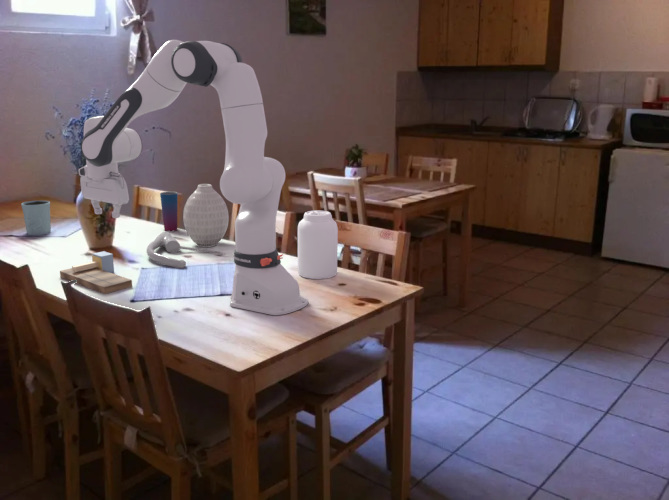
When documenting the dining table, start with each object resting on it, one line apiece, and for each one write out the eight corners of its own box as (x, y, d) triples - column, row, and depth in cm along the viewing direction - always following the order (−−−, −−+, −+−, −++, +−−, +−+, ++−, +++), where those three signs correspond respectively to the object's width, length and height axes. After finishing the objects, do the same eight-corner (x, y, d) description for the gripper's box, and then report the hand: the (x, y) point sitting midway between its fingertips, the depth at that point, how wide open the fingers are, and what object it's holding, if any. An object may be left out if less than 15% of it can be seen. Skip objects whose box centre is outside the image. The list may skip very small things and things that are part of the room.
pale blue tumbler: (26, 236, 245) (22, 205, 242) (23, 231, 253) (20, 201, 250) (54, 234, 250) (51, 203, 247) (51, 228, 258) (48, 199, 255)
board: (132, 286, 189) (131, 279, 189) (104, 293, 182) (104, 287, 182) (87, 270, 204) (86, 264, 203) (60, 277, 197) (59, 270, 196)
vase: (220, 251, 228) (218, 189, 222) (177, 249, 231) (174, 187, 225) (235, 240, 244) (233, 182, 238) (194, 238, 246) (191, 180, 240)
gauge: (114, 272, 203) (112, 254, 201) (78, 281, 194) (77, 262, 192) (105, 269, 206) (103, 251, 204) (70, 277, 197) (68, 259, 195)
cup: (171, 227, 264) (169, 190, 260) (183, 229, 260) (181, 192, 256) (158, 230, 258) (156, 193, 254) (169, 232, 254) (167, 195, 251)
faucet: (233, 255, 234) (208, 277, 207) (159, 243, 236) (125, 263, 210) (234, 242, 232) (209, 263, 206) (160, 230, 235) (126, 249, 209)
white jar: (291, 277, 200) (291, 214, 195) (306, 266, 212) (306, 206, 207) (328, 281, 196) (329, 217, 191) (342, 270, 208) (343, 210, 202)
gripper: (132, 172, 190) (136, 218, 194) (93, 167, 203) (98, 210, 206) (113, 174, 186) (117, 221, 189) (75, 169, 198) (79, 213, 201)
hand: (107, 215), depth 198 cm, fingers open, 8 cm apart
